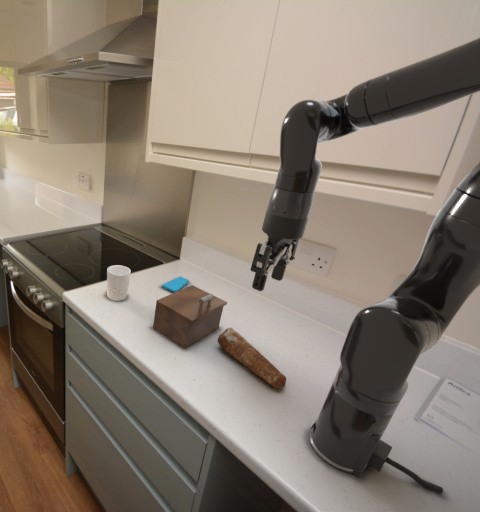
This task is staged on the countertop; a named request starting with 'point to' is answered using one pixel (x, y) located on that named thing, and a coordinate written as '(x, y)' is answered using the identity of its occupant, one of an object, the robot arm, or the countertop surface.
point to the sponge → (175, 284)
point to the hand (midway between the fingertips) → (267, 284)
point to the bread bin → (184, 326)
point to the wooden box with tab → (191, 303)
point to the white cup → (117, 282)
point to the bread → (251, 357)
